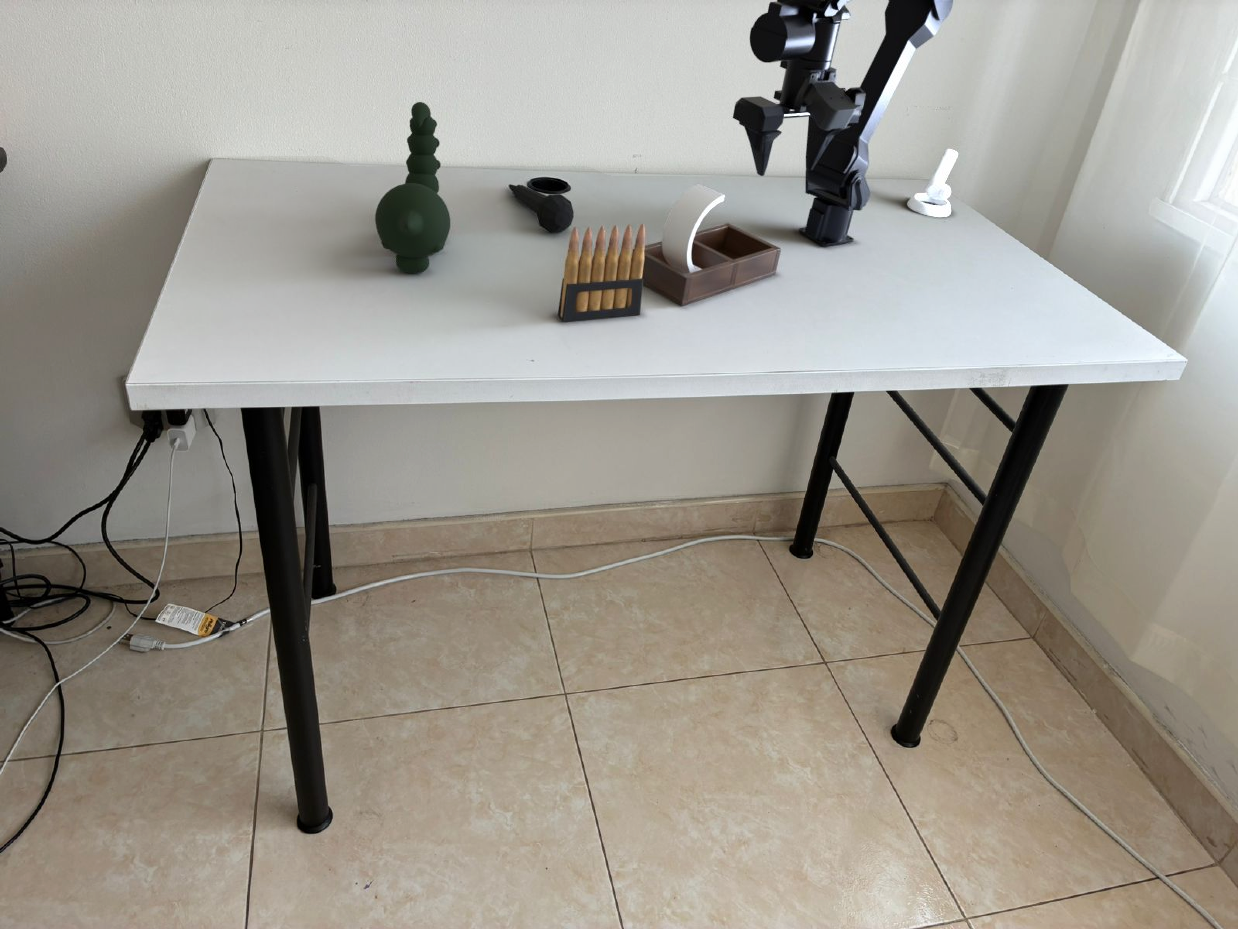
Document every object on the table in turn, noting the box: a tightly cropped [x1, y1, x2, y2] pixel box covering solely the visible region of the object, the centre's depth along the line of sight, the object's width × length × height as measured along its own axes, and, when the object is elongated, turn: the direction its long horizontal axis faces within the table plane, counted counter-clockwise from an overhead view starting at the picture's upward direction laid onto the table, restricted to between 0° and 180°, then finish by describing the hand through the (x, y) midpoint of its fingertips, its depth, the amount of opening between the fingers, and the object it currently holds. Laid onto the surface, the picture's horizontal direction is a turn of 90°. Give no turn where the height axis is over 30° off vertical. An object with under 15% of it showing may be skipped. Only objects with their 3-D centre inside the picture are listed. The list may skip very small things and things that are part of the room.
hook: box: [906, 148, 959, 218], centre depth 167 cm, size 8×12×7 cm
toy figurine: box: [374, 101, 451, 274], centre depth 124 cm, size 9×19×25 cm
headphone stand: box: [661, 183, 726, 274], centre depth 127 cm, size 5×6×12 cm
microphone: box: [508, 184, 575, 234], centre depth 144 cm, size 6×6×20 cm
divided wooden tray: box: [631, 222, 782, 307], centre depth 132 cm, size 20×10×4 cm, turn 133°
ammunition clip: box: [557, 223, 646, 323], centre depth 117 cm, size 11×2×12 cm, turn 113°
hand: (785, 172), depth 134 cm, fingers open, 9 cm apart
